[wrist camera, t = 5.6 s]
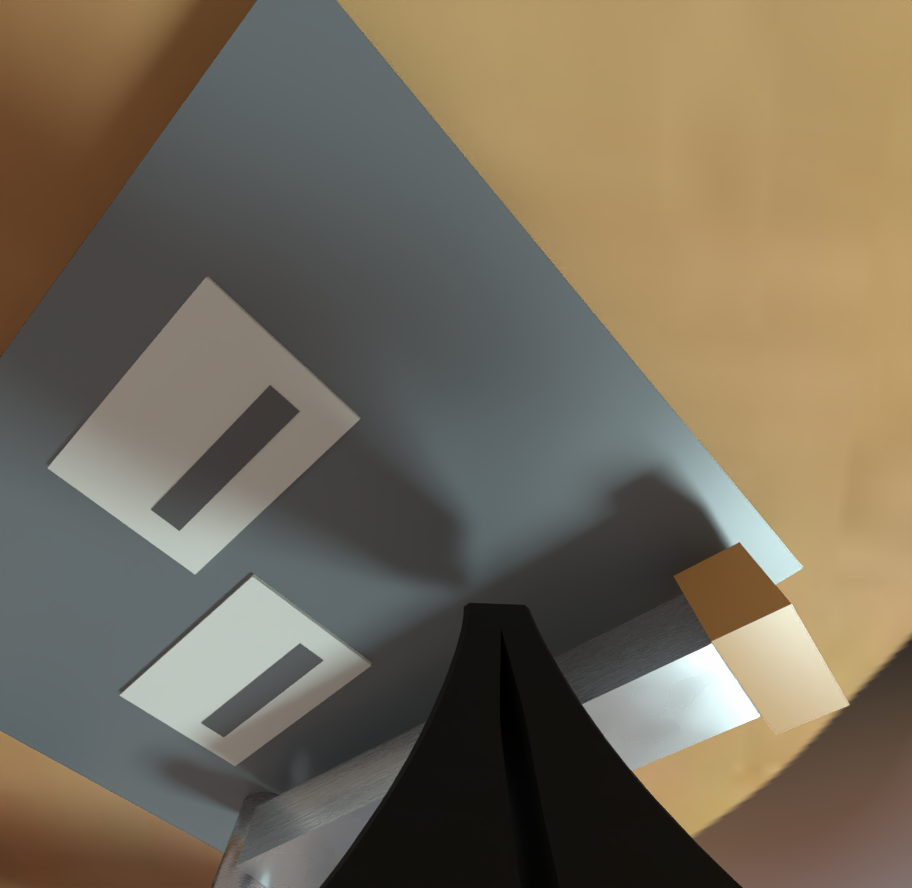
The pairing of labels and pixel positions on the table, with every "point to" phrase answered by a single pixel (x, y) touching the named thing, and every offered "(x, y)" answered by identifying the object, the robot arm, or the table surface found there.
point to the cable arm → (598, 706)
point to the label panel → (313, 444)
